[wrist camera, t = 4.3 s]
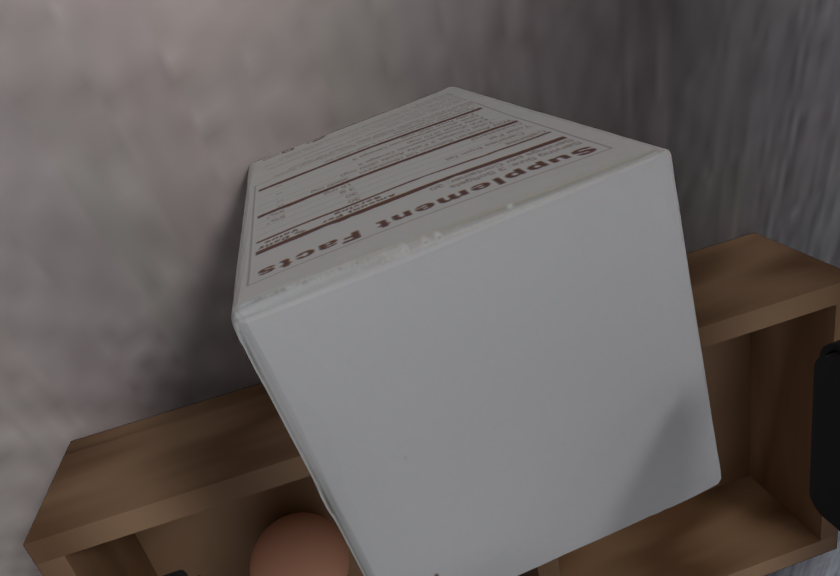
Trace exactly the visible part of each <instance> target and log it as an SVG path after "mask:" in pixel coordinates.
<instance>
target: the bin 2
mask: <svg viewBox="0 0 840 576" xmlns="http://www.w3.org/2000/svg"><path fill="white" fill-rule="evenodd" d="M686 255H687V262H688V269H689V275H690V282H691V288H692V294H693V301H694V307H695V313H696V320H697V326H698V332H699V338H700V345H701V351H702V357H703V363H704V370H705V376H706V382H707V389H708V396H709V402H710V409H711V416H712V422H713V428H714V433H715V440H716V447H717V453H718V458H719V464H720V469H721V480H720V481H719V483H718V484H717V485H715V486H713V487H711V488H709V489H707V490H705V491H704V492H702V493H700V494H698V495H696V496H694V497H692V498H690V499H688V500H686V501H683V502H681V503H679V504H677V505H675V506H673V507H670V508H667V509H665V510H663V511H661V512H659V513H657V514H654V515H652V516H649V517H647V518H645V519H643V520H641V521H638V522H636V523H634V524H632V525H630V526H627V527H625V528H623V529H621V530H619V531H616V532H614V533H612V534H610V535H607V536H605V537H603V538H601V539H599V540H596V541H594V542H592V543H590V544H587V545H585V546H583V547H580V548H578V549H576V550H574V551H571V552H569V553H567V554H565V555H562V556H560V557H558V558H556V559H554V560H552V561H550V562H548V563H545V564H543V565H541V566H539V567H536V568H534V569H532V570H530V571H527V572H525V573H523V574H521V575H518V576H765V575H767V574H770V573H773V572H775V571H778V570H781V569H783V568H786V567H789V566H791V565H794V564H797V563H799V562H802V561H805V560H807V559H810V558H812V557H815V556H818V555H820V554H823V553H826V552H828V551H831V550H834V549H836V548H837V537H838V529H837V528H836V527H834V526H833V525H832V524H831V523H830V522H828V521H827V520H826V519H825V518H824V517H823V516H822V515H821V514H820V513H819V512H818V511H817V509H816V508H815V507H814V505H813V503H812V501H811V498H810V492H809V487H810V460H811V433H812V407H813V380H814V365H815V361H816V360H817V359H818V358H819V355H820V351H821V349H822V348H823V347H824V346H825V345H827V344H829V343H832V342H835V341H838V340H840V269H839V268H837V267H835V266H832V265H830V264H828V263H825V262H823V261H820V260H818V259H816V258H813V257H811V256H809V255H806V254H804V253H801V252H799V251H797V250H794V249H792V248H790V247H787V246H785V245H782V244H780V243H778V242H775V241H773V240H771V239H768V238H766V237H763V236H761V235H759V234H756V233H752V234H749V235H746V236H742V237H739V238H736V239H733V240H729V241H726V242H723V243H719V244H716V245H713V246H710V247H706V248H703V249H700V250H697V251H693V252H690V253H687V254H686Z"/></svg>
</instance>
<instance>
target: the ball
mask: <svg viewBox="0 0 840 576" xmlns="http://www.w3.org/2000/svg"><path fill="white" fill-rule="evenodd" d="M348 570H349V553H348V549H347V545H346V542H345V540H344V538H343V536H342V534H341V533H340V531H339V530H338V529H337V527H336V526H335V525H334V524H333V523H331V522H330V521H329V520H327V519H326V518H324V517H322V516H319V515H317V514H313V513H306V512H301V513H293V514H289V515H286V516H284V517H281V518H279V519H278V520H276V521H275V522H273V523H272V524H271V525H270V526H268V527H267V528H266V529H265V530H264V532H263V533H262V534H261V536H260V537H259V539H258V540H257V542H256V544H255V546H254V549H253V552H252V555H251V560H250V576H347V575H348Z"/></svg>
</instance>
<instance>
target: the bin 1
mask: <svg viewBox="0 0 840 576" xmlns="http://www.w3.org/2000/svg"><path fill="white" fill-rule="evenodd" d="M301 512H306V513H313V514H317V515H319V516H322V517H324V518H326V519H327V520H329V521H330V522H331V523H333V524H334V525H335V526H336V527H337V529H338V530H339V531H340V529H339V527H338V525H337V524H336V522H335V520H334V519H333V517H332V516H331V514H330V513H329V512H328V510H327V509H326V507H325V504H324V502H323V500H322V498H321V496H320V494H319V492H318V490H317V488H316V485H315V483H314V481H313V479H312V476H311V475H310V473H309V471H308V469H307V467H306V465H305V463H304V461H303V459H302V457H301V455H300V454H299V452H298V450H297V448H296V446H295V444H294V442H293V440H292V438H291V436H290V434H289V433H288V431H287V429H286V427H285V425H284V423H283V421H282V419H281V417H280V415H279V413H278V412H277V410H276V408H275V406H274V404H273V402H272V400H271V398H270V396H269V395H268V393H267V391H266V389H265V387H264V385H263V384H262V383H261V384H257V385H254V386H251V387H248V388H244V389H241V390H238V391H234V392H231V393H228V394H225V395H221V396H218V397H215V398H212V399H208V400H205V401H202V402H198V403H195V404H192V405H189V406H185V407H182V408H179V409H175V410H172V411H169V412H166V413H162V414H159V415H156V416H153V417H149V418H146V419H143V420H139V421H136V422H133V423H130V424H126V425H123V426H120V427H116V428H113V429H110V430H107V431H103V432H100V433H97V434H94V435H90V436H87V437H84V438H80V439H77V440H74V441H71V442H70V444H69V447H68V449H67V451H66V453H65V455H64V457H63V460H62V462H61V464H60V466H59V468H58V470H57V473H56V475H55V477H54V479H53V481H52V483H51V485H50V488H49V490H48V492H47V494H46V496H45V498H44V501H43V503H42V505H41V507H40V509H39V511H38V514H37V516H36V518H35V520H34V522H33V524H32V527H31V529H30V531H29V533H28V535H27V537H26V540H25V542H24V544H23V546H24V547H25V549H26V551H27V552H28V554H29V555H30V557H31V558H32V560H33V561H34V563H35V564H36V566H37V567H38V569H39V571H40V572H41V574H42V575H43V576H163V575H166V574H169V573H172V572H175V571H178V570H183V571H185V572H186V573H187V575H188V576H198V575H200V576H250V560H251V555H252V552H253V549H254V546H255V544H256V542H257V540H258V539H259V537H260V536H261V534H262V533H263V532H264V530H265V529H266V528H267V527H268V526H270V525H271V524H272V523H273V522H275V521H276V520H278V519H279V518H281V517H284V516H286V515H289V514H293V513H301ZM340 533H341V531H340ZM341 534H342V533H341ZM342 536H343V535H342ZM343 538H344V537H343ZM344 540H345V539H344ZM345 542H346V541H345ZM346 545H347V549H348V553H349V570H348V575H347V576H364V575H363V573H362V571H361V569H360V567H359V566H358V564H357V562H356V560H355V558H354V556H353V554H352V552H351V550H350V548H349V546H348V544H347V543H346Z"/></svg>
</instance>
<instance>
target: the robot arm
mask: <svg viewBox="0 0 840 576" xmlns="http://www.w3.org/2000/svg"><path fill="white" fill-rule="evenodd" d="M809 492H810V498H811V501H812V503H813V505H814V507H815V508H816V509H817V511H818V512H819V513H820V514H821V515H822V516H823V517H824V518H825V519H826V520H827V521H828V522H830V523H831V524H832V525H833V526H834V527H836V528H837V529H838V530H839V531H840V340H838V341H835V342H832V343H829V344H827V345H825V346H824V347H823V348H822V349H821V351H820V355H819V358H818V359H817V360H816V361H815V365H814V380H813V407H812V433H811V460H810V487H809ZM163 576H188V575H187V573H186V572H185V571H183V570H178V571H175V572H172V573H169V574H166V575H163ZM198 576H200V575H198Z"/></svg>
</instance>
